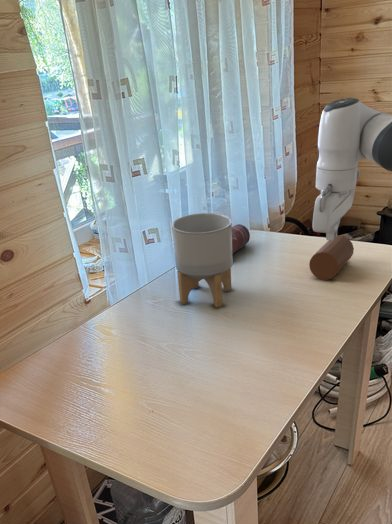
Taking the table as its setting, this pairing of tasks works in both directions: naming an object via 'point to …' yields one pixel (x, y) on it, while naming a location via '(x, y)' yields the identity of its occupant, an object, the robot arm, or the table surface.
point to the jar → (331, 257)
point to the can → (239, 237)
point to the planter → (203, 253)
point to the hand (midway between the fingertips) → (331, 238)
